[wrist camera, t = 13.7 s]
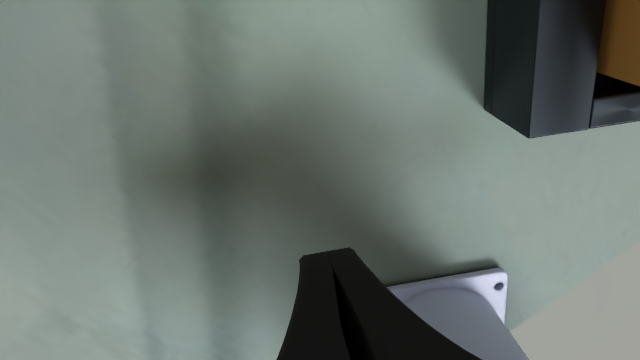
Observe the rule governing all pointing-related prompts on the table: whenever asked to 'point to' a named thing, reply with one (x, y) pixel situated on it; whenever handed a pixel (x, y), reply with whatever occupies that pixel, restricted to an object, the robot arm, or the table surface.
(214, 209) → the table surface
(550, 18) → the toaster
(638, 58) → the toast
